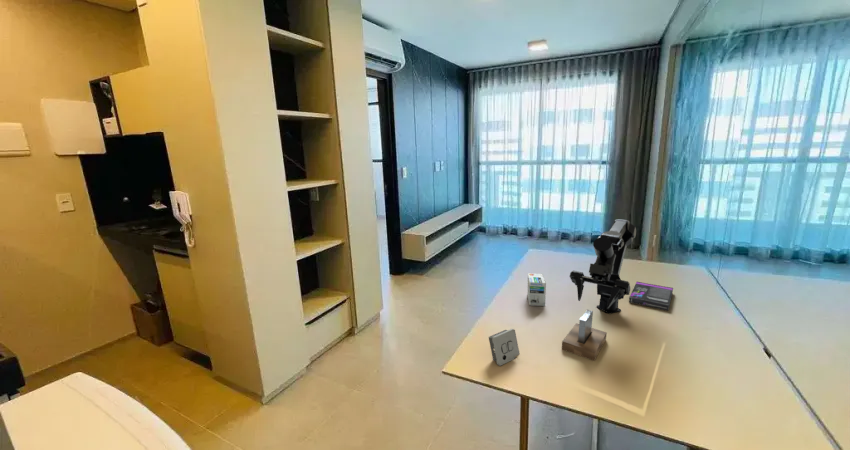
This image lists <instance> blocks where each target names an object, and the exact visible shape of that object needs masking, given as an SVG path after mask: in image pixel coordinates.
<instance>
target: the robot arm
mask: <svg viewBox="0 0 850 450" xmlns="http://www.w3.org/2000/svg"><path fill="white" fill-rule="evenodd" d="M636 235H637V228H636V226H635V225H634V224H632V223H631V222H630V220H627V219H621V218H620V219H619V218H618V219H615V220H614V223H613V224H612V225H611V228H610V229H609V230H608V231H604V232H602V233H601V234H600V235H599V236H598V237H597V238H595V240H594V241H593V244H592V246H593V249H594V253H595V255H596V259H595V262H594V263H589V269H588V273H589V276H586V275H585V274H584V272H583V271H577V270H572V271H571V272H570V273H569V278H570V280H571V283H573V284H574V285H575V286H576V288H577V291H576V292H577V301H578V302H580V301H581V300H582V296H583V292H584V287H585V285H584V284H585V282H586V283H589V284H595V285H596V294H597V295H598V296H600V298H599V303H598V304H599V305H596V308H597V309H599V310H601V311H603V312H605V313H607V314H613V313H617V312H622V309H621V308H619V301H621V299H624V296H625V295H626V296H630V294H631V284H630V282H629V281H628V280H623V279H621V277H620V273H621V270H622V266H623V261H624V258H625V255H626V250H627V247H628V246H630V245H631V244H633V241H634V239H635V238H636Z"/></svg>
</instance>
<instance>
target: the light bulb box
mask: <svg viewBox="0 0 850 450" xmlns="http://www.w3.org/2000/svg"><path fill="white" fill-rule="evenodd" d="M546 288H547V282H546V280H545V277H544V274H543V273H532V272H531V273H530V272H529V273H527V292H526V293H527V294H526V295H527V299H528V300H527V301H528V305H529V306H537V307H546V294H547V293H546V291H547V289H546Z"/></svg>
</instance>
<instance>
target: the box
mask: <svg viewBox="0 0 850 450" xmlns="http://www.w3.org/2000/svg"><path fill="white" fill-rule="evenodd" d="M673 291H674V288H673V287H671V286H670V287H669V286H663V285H657V284H652V283H648V282H647V283H646V282H640V281H636V282H635V285H634V286H633V288H632V291H631V292H630V294H629V300H628V303H631V304H636V305H640V306H645V307H649V308H653V309H657V310H661V311H667V312H669V309H670V307H671V305H670V304H671V300H672V296H673Z"/></svg>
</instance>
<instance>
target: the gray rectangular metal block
mask: <svg viewBox="0 0 850 450" xmlns="http://www.w3.org/2000/svg"><path fill="white" fill-rule="evenodd" d="M593 315H594V311H593V310H590V309H586V311H585V312H584V313H583V315H582V316H581V317H580V318H579V323H578V324H579V336H578V342H580V343H583V344H585V343H586V341H587V340H588V338H589V337H590V335H591V329H592V328H593V327H592V325H593Z"/></svg>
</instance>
